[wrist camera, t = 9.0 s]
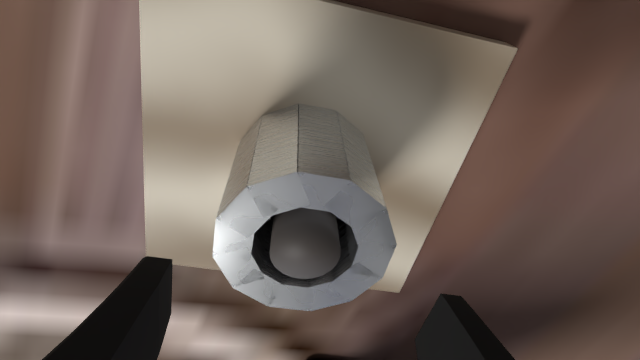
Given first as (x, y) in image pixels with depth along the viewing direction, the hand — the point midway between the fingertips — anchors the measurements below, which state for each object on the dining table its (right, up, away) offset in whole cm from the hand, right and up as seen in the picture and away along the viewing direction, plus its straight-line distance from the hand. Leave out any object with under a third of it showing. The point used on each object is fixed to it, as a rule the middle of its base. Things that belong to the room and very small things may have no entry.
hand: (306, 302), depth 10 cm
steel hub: (0, +4, +6) cm, 7 cm away
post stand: (0, +4, +7) cm, 8 cm away
